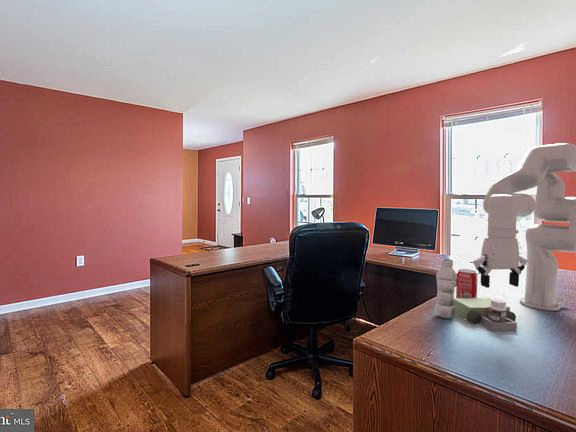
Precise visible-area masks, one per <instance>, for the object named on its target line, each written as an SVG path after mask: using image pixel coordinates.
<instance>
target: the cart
mask: <svg viewBox="0 0 576 432" xmlns="http://www.w3.org/2000/svg"><path fill="white" fill-rule="evenodd" d="M492 299H493V298H490V297H477V298H456V297H454V305H455V315H456V316H457V317H460V318H461V319H462V320H464V319H465V321H466V322H467V323H471V324H473V325H478V324H480V325H482V326H484V327H485V326H486V327H485V328H487V329H489V330H490V329H491V330H490V331H492V330H493V332H516V331H517V328H518V326H517V325H518V323H517V322H516V319H517V315H516V314H515V312H512V311H511V307H510V306H507V305H506V306H505V307H506V309H507V311H506V322H492V321H490V320H489V319H488V318H489V306H490V305H492V304H491V300H492Z"/></svg>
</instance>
